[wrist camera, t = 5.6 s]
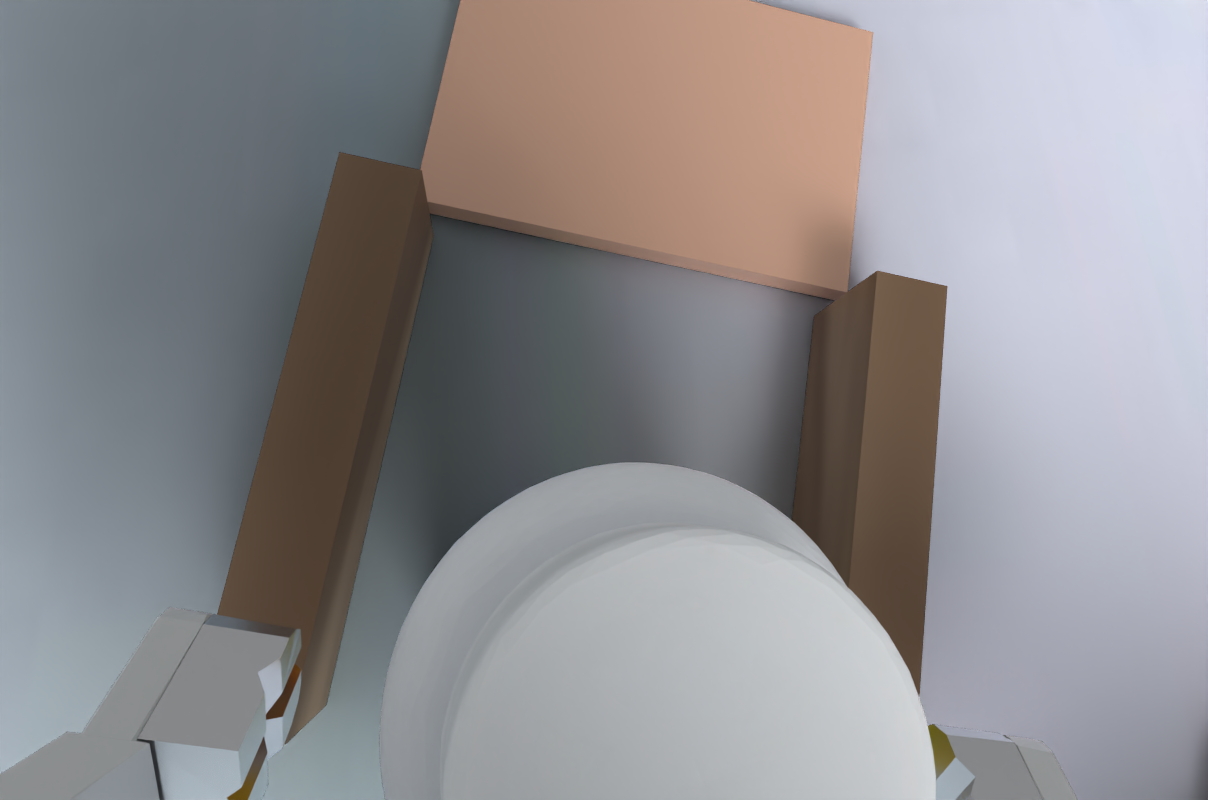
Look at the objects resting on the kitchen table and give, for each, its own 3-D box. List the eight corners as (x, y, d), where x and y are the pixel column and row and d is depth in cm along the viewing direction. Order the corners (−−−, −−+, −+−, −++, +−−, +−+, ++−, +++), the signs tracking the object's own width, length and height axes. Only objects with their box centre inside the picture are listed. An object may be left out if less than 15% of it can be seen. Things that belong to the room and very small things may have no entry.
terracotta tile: (416, 210, 17) (413, 198, 16) (477, -50, 18) (476, -70, 18) (835, 300, 18) (847, 292, 17) (861, 47, 19) (873, 32, 19)
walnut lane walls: (246, 694, 15) (186, 730, 12) (365, 221, 17) (339, 152, 14) (833, 776, 16) (910, 827, 13) (873, 328, 18) (947, 286, 15)
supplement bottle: (549, 447, 16) (642, 290, 6) (749, 608, 16) (1153, 703, 6) (373, 663, 15) (145, 889, 5) (591, 839, 15) (790, 1414, 5)
